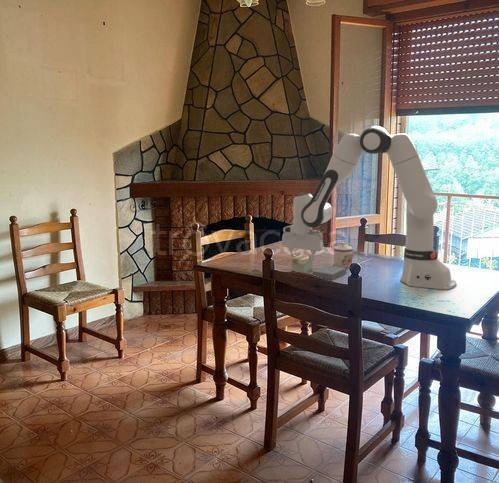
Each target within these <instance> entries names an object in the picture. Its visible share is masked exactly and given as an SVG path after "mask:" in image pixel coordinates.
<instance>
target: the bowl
mask: <svg viewBox="0 0 499 483" xmlns="http://www.w3.org/2000/svg"><path fill="white" fill-rule="evenodd" d="M313 264H314V263H313V261H311V262H309V263H306V264H303V265H301V264H295V263H291V272H292V271H298V272H305V274H308V273H310V272H313Z"/></svg>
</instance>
